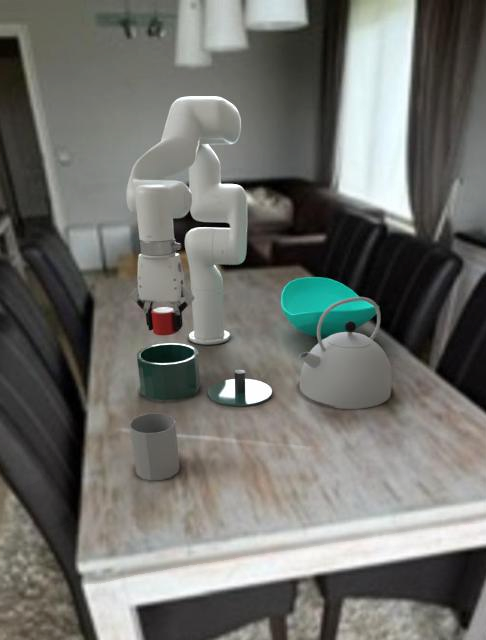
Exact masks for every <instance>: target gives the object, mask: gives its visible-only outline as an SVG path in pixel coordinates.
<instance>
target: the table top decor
mask: <svg viewBox="0 0 486 640" xmlns="http://www.w3.org/2000/svg"><path fill="white" fill-rule="evenodd" d="M355 297H360V296H359V295H358V294H357V293H356V292H355V291H354V290H353V289H351V288H350V287H348V285H347V286H346V285H345V284H344V283H341V282H340V281H337V280H334V279H332V278H328V277H320V276H307V277H299V278H295V279H293V280H290V281H289V282H288V283H287V284H286V285H285V286H284V287H283V288H282V292H281V295H280V306H281V307H280V308H281V311H282V313H283V315H284V317H286V319H287V320H288V322H289V323H290V324H291V325H292V326H293V327H294V328H295V329H296V330H298V331H300V332H301V333H304V334H305V335H308V336H310V337H314V338H317V326H318V322H319V320H320V318H321V316H322V314H323V313H324V312H325V311H326V309H328V308H329V307H330V306H331V305H333V304H335V303H337V302H339V301H342V300H345V299H349V298H355ZM377 306H378V307H379V308H380V306H379V305H377ZM375 316H377V312H376V309H375V307H374V306H373V305H372V304H371V303H369V302H367V301H352V302H348V303H344V304H341V305H339V306H337V307H335V308H333V309H332V310H331V311H330V312H329V313H328V314H327V315H326V316H325V317H324V319H323V322H322V325H321V329H320V336H321V340H323V339H325V338H327V337H329V336H330V335H333V334H336V333H341V332H347V331H346V330H345V324H346V323H347V322H348V321H353V322H354V323H355V324H356V329H358V328H360V327H362V326H363V325H365V324H366V323H368V322H369V321H371V320H372V319H373V318H374V317H375Z"/></svg>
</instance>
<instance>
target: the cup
mask: <svg viewBox="0 0 486 640" xmlns="http://www.w3.org/2000/svg"><path fill="white" fill-rule="evenodd" d="M129 429H130V437H131V445H132V453H133V459H134V466H135V472H136V475H137V476H138V477H139V478H140V479H142V480H147V481H163V480H168V479H171V478H172V477H173V476H175V475H177V474H178V472H179V470H180V458H179V457H180V456H179V445H178V435H177V424H176V420H175V417H173V416H171V415H170V414H168V413H161V412H149V413H145V414H141V415H139V416H136V417H134V418H133V419H131V421H130V422H129Z"/></svg>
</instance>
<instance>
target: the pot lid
mask: <svg viewBox="0 0 486 640" xmlns="http://www.w3.org/2000/svg"><path fill="white" fill-rule="evenodd" d="M207 394H208V398H209V399H210V400H211V401H212V402H214V403H216V404H219V405H222V406H226V407H235V408H243V407H244V408H247V407H253V406H257V405H261V404H264V403H265V402H267V401H269V399H270V398H271V397H272V396H273V389H272V387H271V386H270V385H268V384H267V383H265V382H263V381H261V380H257V379H252V378H251V379H250V378H246V371H245V370H244V369H236V370H234V378H232V379H226V380H222V381H219V382H216V383H215V384H213V385H211V386H210V388H209V389H208V393H207Z"/></svg>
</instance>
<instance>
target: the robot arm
mask: <svg viewBox="0 0 486 640" xmlns="http://www.w3.org/2000/svg"><path fill="white" fill-rule="evenodd" d="M168 111H169V112H168V115H167V119H166V122H165V125H164V128H163V133H162V136H161V140H160V142H158V143H157V144H155V145H154V146H152V147H151V148H150V149H148V150H147V151H146V152H145V153H144V154H142V155H141V156H140V157H139V158H137V160H136V161H135V163H134V164H133V166H132V169H131V172H130V176H129V178H128V182H127V186H126V191H125V192H126V194H125V195H126V196H125V199H126V205H127V208H128V210H129V212H130V213H131V215H134V216H135V217H136V219H137V229H138V237H139V247H140V253H139V254H138V258H137V286H136V287H135V288H134V290H133V291H132V292H131V293H130V295H129V297H130V298H131V299H132V301H134V302H135V303H136V304H137V305H138V307H139V308H140V309H141V310H142V312H143V313H144V314H145V322H146V326H148V331H153V324H152V314H151V311H152V310H153V309H154V308H153V306H154V302H155V303H156V302H158V303H170V304H171V308H173V309H174V313H175V314H174V315H173V323H174V331H175V332H176V333H178V332H179V331H180V330H181V329H182V327H183V324H184V323H183V312H184V311H185V309H186V308H188V306H189V305H190V304H191V310H192V325H193V331H191V332H190V333H189V334H188V340H189V341H190V342H192V343H194V344H198V345H206V346H207V345H208V346H210V345H211V346H212V345H220V344H223V343H226V342H228V341H229V340H230V337H231V335H230V332H229V331H227V330H225V301H224V280H223V276H222V274H221V272H220V270H219V269H218V267H217V266H216V265H226V266H227V265H229V266H231V265H232V266H234V265H235V266H237V265H241V264H242V263H244V261H245V260H246V258H247V257H246V256H247V251H248V250H247V247H248V197H247V193H246V190H245V189H244V188H243V186H241V185H239V184H234V183H222V181H221V162H220V160H219V158H218V155H217V154H216V152H215V151H214V150H213V149H212V147H211V146H210V145H233V144H236V142H238V140H239V138H240V135H241V132H242V131H241V130H242V120H241V115H240V112H239V110H238V109H237V107H236V106H235V104H233V103H232V102H230V101H228V100H227V99H225V98H223V97H221V96H217V95H216V96H212V95H211V96H183V97H178V98H176V99H175V101H173V103H172V104H171V105H170V108H169V110H168ZM187 170H188V185H189V186H188V185H187V184H186V183H185V182H183V181H180V180H172V179H166V178H169V177H172V176H175V175H177V174H180V173H182V172H184V171H187ZM189 212H190V215H191V217H192V219H193V220H195V221H197V222H202V223H226V224H229V227H211V226H210V227H207V226H204V227H194V228H191V229H190V230H189V231H187V232H186V234H185V237H184V248H185V250H184V251H185V254H186V258H187V263H188V269H189V278H190V279H189V280H190V290H189V289H188V288H187V286H186V279H185V273H184V269H183V262H182V259H181V256H180V254H179V253H177V251H178V250H179V251H180V250H181V249H182V243H181V242H176V238H175V231H174V230H175V229H174V219H182V218H184V217H185V216H187V215H188V213H189ZM182 298H185V299H184V301H183V302H181V299H182Z"/></svg>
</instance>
